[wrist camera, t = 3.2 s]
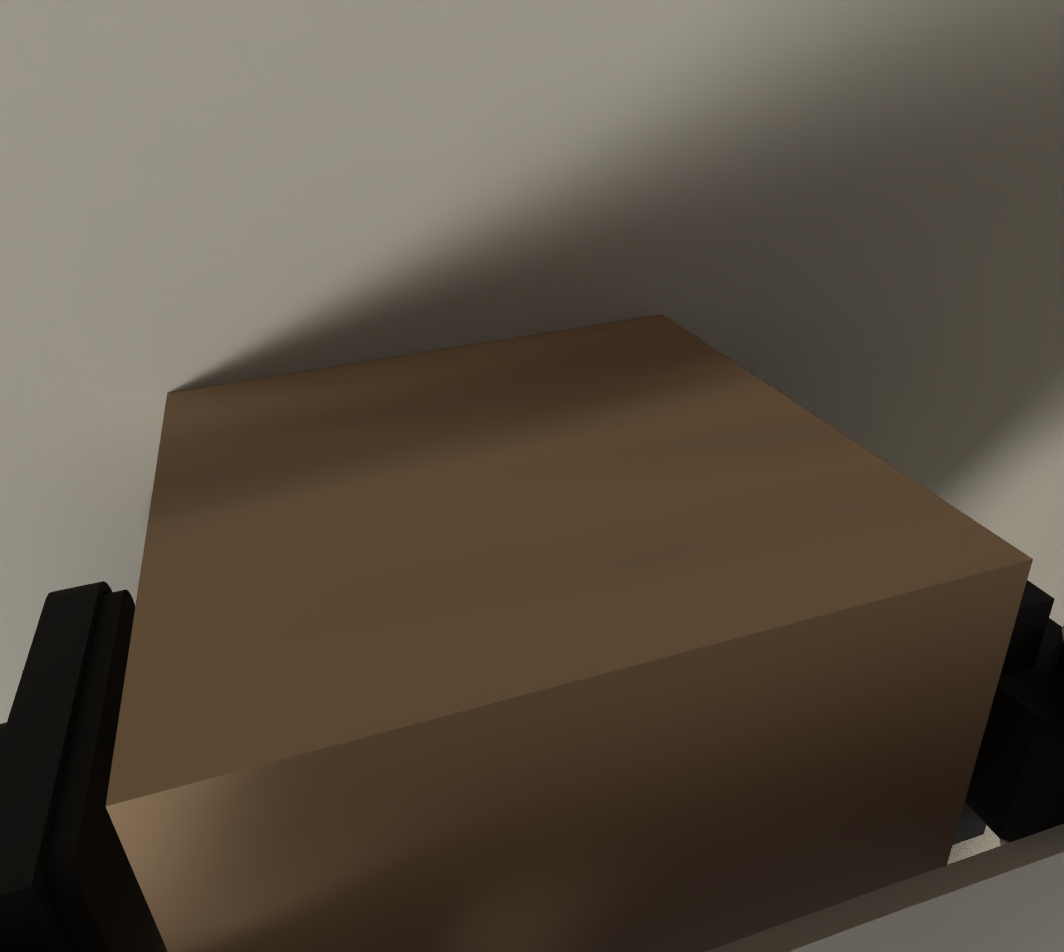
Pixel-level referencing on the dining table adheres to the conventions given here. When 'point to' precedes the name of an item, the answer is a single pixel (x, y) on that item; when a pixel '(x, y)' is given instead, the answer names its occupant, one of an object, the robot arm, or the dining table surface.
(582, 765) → the block walnut
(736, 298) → the dining table surface
